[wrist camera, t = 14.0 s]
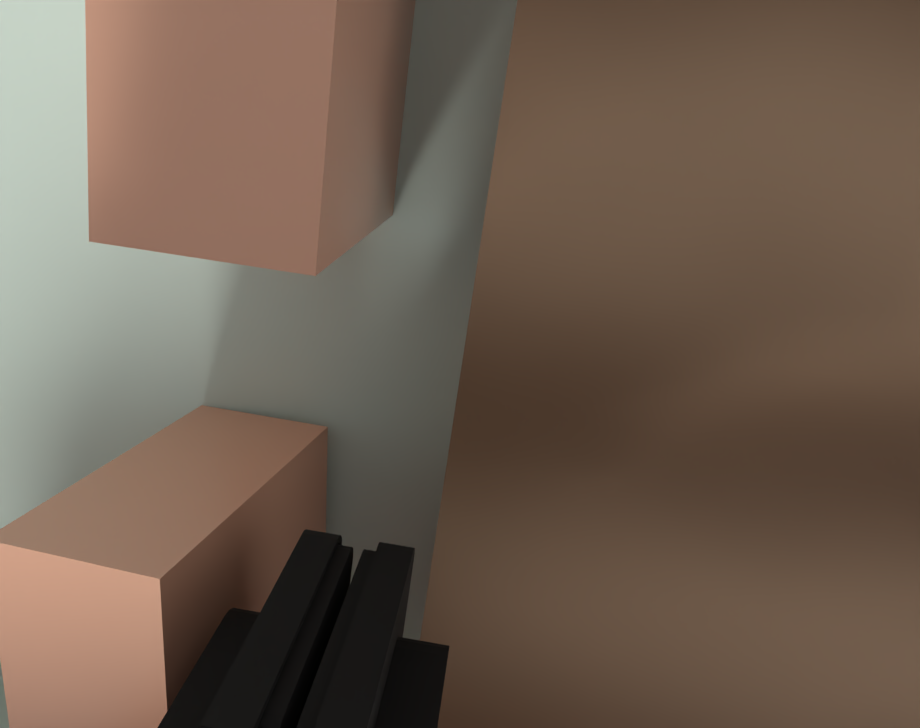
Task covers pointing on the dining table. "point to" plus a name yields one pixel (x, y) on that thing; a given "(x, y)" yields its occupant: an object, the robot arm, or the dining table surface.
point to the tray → (245, 296)
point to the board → (691, 376)
